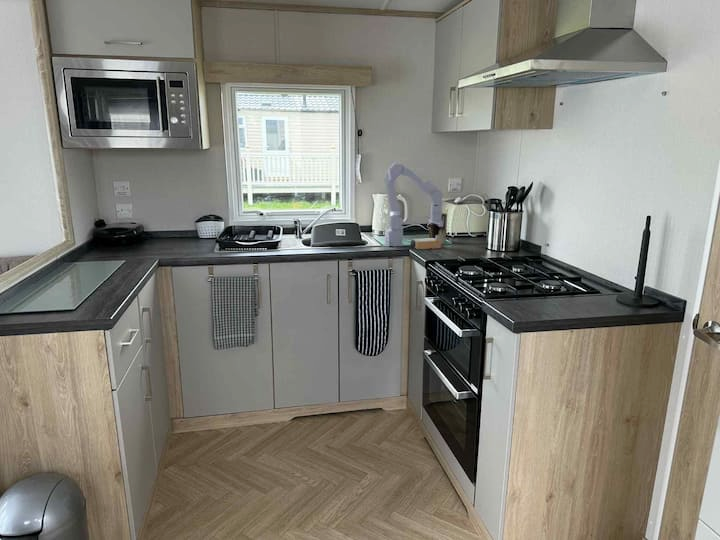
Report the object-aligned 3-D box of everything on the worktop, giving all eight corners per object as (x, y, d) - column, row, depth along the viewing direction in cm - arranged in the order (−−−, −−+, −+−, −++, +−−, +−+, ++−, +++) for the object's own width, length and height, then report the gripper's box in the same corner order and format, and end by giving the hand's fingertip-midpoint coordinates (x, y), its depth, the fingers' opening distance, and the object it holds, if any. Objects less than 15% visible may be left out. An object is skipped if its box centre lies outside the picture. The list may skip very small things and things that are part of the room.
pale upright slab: (414, 249, 269) (415, 241, 268) (409, 246, 276) (409, 239, 275) (440, 247, 274) (440, 240, 273) (434, 245, 281) (434, 238, 280)
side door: (418, 249, 268) (418, 236, 267) (416, 248, 270) (417, 235, 268) (441, 248, 273) (442, 235, 271) (439, 247, 274) (440, 234, 273)
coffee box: (446, 241, 292) (448, 213, 288) (444, 243, 286) (446, 214, 282) (430, 240, 295) (431, 212, 291) (428, 242, 289) (429, 213, 285)
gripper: (449, 214, 265) (447, 240, 268) (437, 210, 278) (436, 235, 282) (436, 214, 263) (435, 240, 266) (425, 211, 276) (424, 235, 280)
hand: (434, 238), depth 274 cm, fingers closed
